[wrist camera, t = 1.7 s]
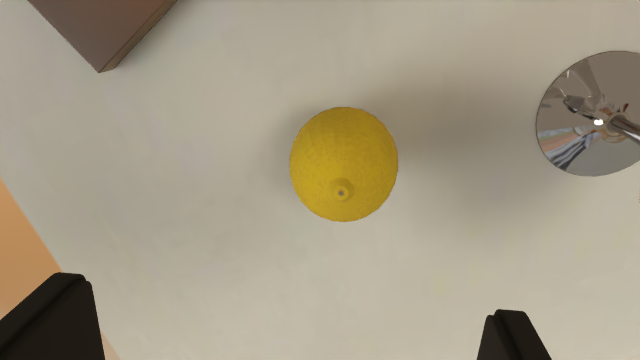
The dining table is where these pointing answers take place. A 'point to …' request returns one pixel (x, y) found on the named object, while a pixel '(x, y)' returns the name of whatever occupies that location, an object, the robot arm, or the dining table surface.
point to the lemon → (343, 164)
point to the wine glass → (593, 115)
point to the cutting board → (103, 25)
